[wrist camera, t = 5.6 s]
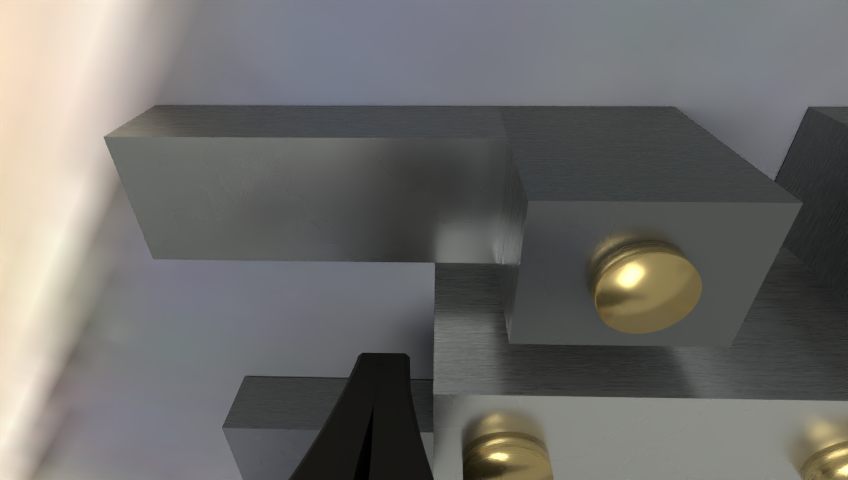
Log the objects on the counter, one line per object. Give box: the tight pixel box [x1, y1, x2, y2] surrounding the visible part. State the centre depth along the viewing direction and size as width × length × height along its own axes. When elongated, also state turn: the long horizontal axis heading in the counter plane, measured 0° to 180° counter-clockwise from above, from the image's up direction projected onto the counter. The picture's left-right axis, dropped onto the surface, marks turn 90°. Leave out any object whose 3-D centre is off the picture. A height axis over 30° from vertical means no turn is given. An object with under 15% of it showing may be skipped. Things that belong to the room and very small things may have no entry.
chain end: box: [104, 106, 803, 480], centre depth 12 cm, size 12×12×5 cm
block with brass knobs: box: [433, 246, 848, 480], centre depth 11 cm, size 4×10×6 cm, turn 91°
